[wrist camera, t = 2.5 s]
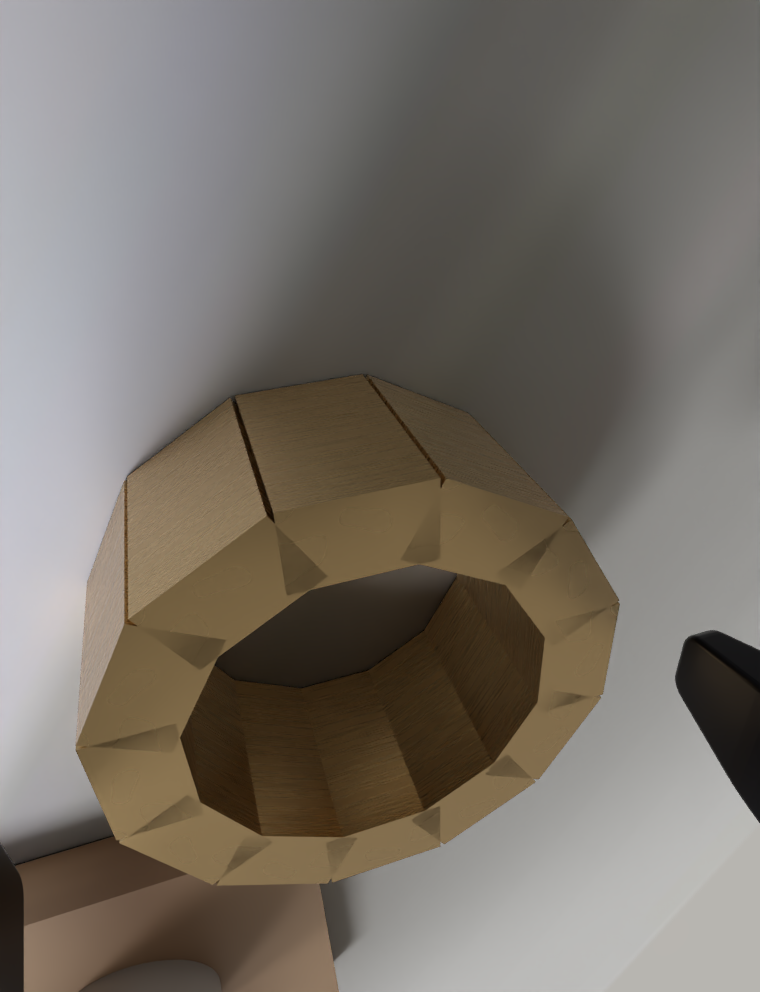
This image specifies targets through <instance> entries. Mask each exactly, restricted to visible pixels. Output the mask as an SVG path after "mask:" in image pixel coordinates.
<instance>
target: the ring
mask: <svg viewBox="0 0 760 992" xmlns="http://www.w3.org/2000/svg"><path fill="white" fill-rule="evenodd" d="M235 399H236V404H237V405H236V404H235V403H234V402H233V400H232V399H231V398H229V399H228V400H226V401H225V402H224V403H222V404H221V405H220V406H219V407H217V408H216V409H215V410H213V411H212V412H211V413H209V414H208V415H207V416H206V417H204V418H203V419H202V420H200V421H199V422H198V423H196V424H195V425H194V426H193V427H191V428H190V429H189V430H187V431H186V432H185V433H183V434H182V435H181V436H179V437H178V438H177V439H176V440H174V441H173V442H172V443H170V444H169V445H168V446H166V447H165V448H164V449H163V450H161V451H160V452H159V453H157V454H156V455H155V456H153V457H152V458H151V459H150V460H148V461H147V462H146V463H144V464H143V465H142V466H140V467H139V468H138V469H137V470H135V471H134V472H133V473H131V474H130V475H129V476H127V481H124V483H123V485H122V488H121V491H120V494H119V496H118V499H117V502H116V505H115V507H114V510H113V513H112V516H111V518H110V521H109V524H108V527H107V529H106V532H105V535H104V538H103V540H102V543H101V546H100V549H99V551H98V554H97V557H96V560H95V562H94V565H93V568H92V571H91V573H90V576H89V579H88V582H87V592H86V606H85V620H84V635H83V649H82V663H81V677H80V692H79V706H78V720H77V734H76V752H77V754H78V756H79V759H80V761H81V763H82V765H83V767H84V770H85V772H86V774H87V776H88V779H89V781H90V783H91V785H92V787H93V790H94V792H95V794H96V796H97V798H98V801H99V803H100V805H101V807H102V810H103V812H104V814H105V816H106V818H107V821H108V823H109V825H110V827H111V830H112V832H113V834H114V836H115V838H116V840H119V843H120V844H122V845H125V846H127V847H129V848H131V849H134V850H136V851H138V852H140V853H143V854H145V855H147V856H149V857H151V858H154V859H156V860H158V861H160V862H163V863H165V864H167V865H169V866H172V867H174V868H176V869H178V870H180V871H183V872H185V873H187V874H189V875H192V876H194V877H196V878H198V879H200V880H203V881H205V882H207V883H209V884H212V885H213V884H214V883H216V884H217V886H221V885H273V884H325V883H328V882H329V881H330V879H332V883H333V882H336V881H339V880H342V879H345V878H348V877H350V876H353V875H356V874H359V873H362V872H365V871H368V870H371V869H374V868H377V867H380V866H383V865H386V864H389V863H392V862H395V861H398V860H401V859H404V858H407V857H410V856H413V855H416V854H419V853H422V852H425V851H428V850H431V849H434V848H437V847H440V842H442V843H443V844H445V843H447V842H448V841H450V840H451V839H453V838H454V837H456V836H457V835H459V834H460V833H462V832H463V831H465V830H466V829H467V828H469V827H470V826H472V825H473V824H475V823H476V822H478V821H479V820H481V819H482V818H484V817H485V816H487V815H488V814H489V813H491V812H492V811H494V810H495V809H497V808H498V807H500V806H501V805H503V804H504V803H506V802H507V801H509V800H510V799H511V798H513V797H514V796H516V795H517V794H519V793H520V792H522V791H523V790H525V789H526V788H528V787H529V786H531V785H532V784H533V783H535V780H534V779H539V778H540V777H541V776H542V774H543V773H544V772H545V770H546V769H547V768H548V766H549V765H550V764H551V762H552V761H553V760H554V759H555V757H556V756H557V755H558V753H559V752H560V751H561V749H562V748H563V747H564V745H565V744H566V743H567V742H568V740H569V739H570V738H571V736H572V735H573V734H574V732H575V731H576V730H577V729H578V727H579V726H580V725H581V723H582V722H583V721H584V719H585V718H586V717H587V715H588V714H589V713H590V712H591V710H592V709H593V708H594V706H595V705H596V704H597V702H598V701H599V700H600V698H601V697H600V696H599V695H602V694H603V690H604V685H605V679H606V674H607V669H608V663H609V658H610V653H611V647H612V642H613V637H614V632H615V626H616V621H617V616H618V610H619V605H620V604H619V603H618V601H619V599H618V597H617V596H616V594H615V592H614V591H613V589H612V587H611V586H610V584H609V582H608V580H607V579H606V577H605V575H604V574H603V572H602V570H601V569H600V567H599V565H598V563H597V562H596V560H595V558H594V557H593V555H592V553H591V552H590V550H589V548H588V546H587V545H586V543H585V541H584V540H583V538H582V536H581V535H580V533H579V531H578V530H577V528H576V526H575V524H574V523H573V521H572V519H571V518H570V517H569V516H568V515H567V514H566V513H565V512H564V511H563V510H562V509H561V508H560V507H559V506H558V505H557V504H556V503H555V502H554V501H553V500H552V499H551V498H550V497H549V496H548V495H547V494H546V493H545V492H544V491H543V489H542V488H541V487H540V486H539V485H538V484H537V483H536V482H535V481H534V480H533V479H532V478H531V477H530V476H529V475H528V474H527V473H526V472H525V471H524V470H523V469H522V468H521V467H520V466H519V465H518V464H517V463H516V462H515V461H514V460H513V458H512V457H511V456H510V455H509V454H508V453H507V452H506V451H505V450H504V449H503V448H502V447H501V446H500V445H499V444H498V443H497V442H496V441H495V440H494V439H493V438H492V437H491V436H490V435H489V434H488V433H487V432H486V431H485V430H484V428H483V427H482V426H481V425H480V424H479V423H478V422H477V421H476V420H475V419H474V418H473V417H472V416H471V415H469V414H468V413H467V412H464V411H462V410H459V409H456V408H454V407H451V406H449V405H446V404H443V403H441V402H438V401H435V400H433V399H430V398H428V397H425V396H422V395H420V394H417V393H414V392H412V391H409V390H406V389H404V388H401V387H399V386H396V385H393V384H391V383H388V382H385V381H383V380H380V379H378V378H375V377H372V376H370V375H367V376H366V378H365V377H364V376H363V374H360V375H354V376H348V377H343V378H337V379H331V380H325V381H319V382H313V383H307V384H301V385H295V386H289V387H283V388H277V389H271V390H265V391H259V392H253V393H247V394H241V395H235ZM418 564H420V565H425V566H429V567H433V568H437V569H441V570H445V571H449V572H454V573H457V577H456V579H455V581H454V582H453V584H452V586H451V587H450V589H449V590H448V592H447V594H446V595H445V597H444V599H443V600H442V602H441V604H440V605H439V607H438V609H437V610H436V612H435V614H434V615H433V617H432V618H431V620H430V622H429V623H428V625H427V627H426V628H425V630H424V631H423V632H422V633H420V634H419V635H417V636H416V637H415V638H413V639H412V640H410V641H409V642H408V643H406V644H405V645H403V646H402V647H401V648H399V649H398V650H396V651H395V652H394V653H392V654H391V655H389V656H388V657H387V658H385V659H384V660H382V661H381V662H380V663H378V664H377V665H375V666H374V667H373V668H371V669H370V670H368V671H365V672H361V673H357V674H353V675H350V676H346V677H342V678H338V679H335V680H331V681H327V682H324V683H320V684H316V685H312V686H309V687H305V688H293V687H285V686H277V685H269V684H261V683H253V682H246V681H238V680H234V679H232V678H231V677H230V676H228V675H227V674H225V673H224V672H223V671H221V670H220V669H219V668H217V667H216V666H215V663H216V660H217V658H218V657H219V656H220V655H222V654H223V653H224V652H226V651H227V650H229V649H230V648H231V647H233V646H234V645H235V644H237V643H238V642H240V641H241V640H242V639H244V638H245V637H246V636H248V635H249V634H250V633H252V632H253V631H255V630H256V629H257V628H259V627H260V626H261V625H263V624H264V623H265V622H267V621H268V620H270V619H271V618H272V617H274V616H275V615H276V614H278V613H279V612H281V611H282V610H283V609H285V608H286V607H287V606H289V605H290V604H291V603H293V602H294V601H296V600H297V599H298V598H300V597H301V596H302V595H304V594H305V593H306V592H308V591H309V590H313V589H317V588H321V587H326V586H330V585H334V584H338V583H342V582H347V581H351V580H355V579H359V578H364V577H368V576H372V575H376V574H380V573H385V572H389V571H393V570H397V569H402V568H406V567H410V566H414V565H418Z"/></svg>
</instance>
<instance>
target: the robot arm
mask: <svg viewBox="0 0 760 992" xmlns="http://www.w3.org/2000/svg"><path fill="white" fill-rule="evenodd" d="M675 681H676V686H677V689H678V692H679V694H680V696H681V697H682V699H683V701H684V702H685V704H686V706H687V708H688V709H689V711H690V713H691V714H692V716H693V718H694V719H695V721H696V723H697V725H698V726H699V728H700V730H701V731H702V733H703V735H704V737H705V738H706V740H707V742H708V743H709V745H710V747H711V749H712V750H713V752H714V754H715V755H716V757H717V759H718V761H719V762H720V764H721V766H722V767H723V769H724V771H725V773H726V774H727V776H728V777H729V779H730V781H731V782H732V784H733V785H734V787H735V789H736V790H737V792H738V793H739V795H740V796H741V797H742V799H743V800H744V802H745V803H746V805H747V806H748V808H749V809H750V810H751V812H752V813H753V815H754V816H755V817H756V819H757V820H758V822H759V823H760V650H758V649H756V648H754V647H752V646H750V645H747V644H745V643H743V642H741V641H739V640H737V639H735V638H733V637H730V636H728V635H726V634H724V633H722V632H719V631H715V630H710V631H705V632H702V633H698V634H695V635H691V636H689V637H688V638H687V639H686V640H685V642H684V644H683V648H682V652H681V656H680V659H679V663H678V667H677V671H676V675H675ZM0 992H24V891H23V884H22V879H21V876H20V874H19V872H18V870H17V869H16V867H15V866H14V864H13V862H12V861H11V859H10V857H9V856H8V854H7V852H6V851H5V849H4V848H3V846H2V844H1V843H0Z"/></svg>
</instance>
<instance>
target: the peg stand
mask: <svg viewBox="0 0 760 992" xmlns="http://www.w3.org/2000/svg"><path fill="white" fill-rule="evenodd" d="M15 867H16V869H17V870H18V872H19V874H20V876H21V879H22V884H23V891H24V992H339V990H338V984H337V979H336V973H335V968H334V962H333V956H332V951H331V945H330V940H329V934H328V928H327V923H326V917H325V912H324V906H323V900H322V895H321V889H320V884H273V885H221V886H217V884H216V883H214V884H213V885H212V884H209V883H207V882H205V881H203V880H200V879H198V878H196V877H194V876H192V875H189V874H187V873H185V872H183V871H180V870H178V869H176V868H174V867H172V866H169V865H167V864H165V863H163V862H160V861H158V860H156V859H154V858H151V857H149V856H147V855H145V854H143V853H140V852H138V851H136V850H134V849H131V848H129V847H127V846H125V845H122V844H120V843H119V840H116V838H115V836H113V837H110V838H106V839H103V840H100V841H96V842H93V843H90V844H86V845H83V846H80V847H76V848H73V849H70V850H66V851H63V852H60V853H56V854H53V855H50V856H46V857H43V858H40V859H36V860H33V861H29V862H26V863H23V864H19V865H16V866H15Z"/></svg>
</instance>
